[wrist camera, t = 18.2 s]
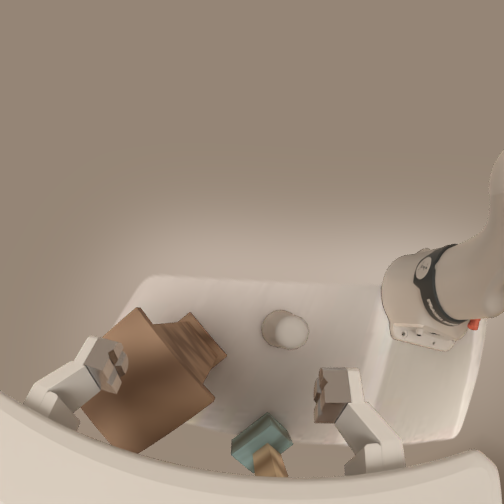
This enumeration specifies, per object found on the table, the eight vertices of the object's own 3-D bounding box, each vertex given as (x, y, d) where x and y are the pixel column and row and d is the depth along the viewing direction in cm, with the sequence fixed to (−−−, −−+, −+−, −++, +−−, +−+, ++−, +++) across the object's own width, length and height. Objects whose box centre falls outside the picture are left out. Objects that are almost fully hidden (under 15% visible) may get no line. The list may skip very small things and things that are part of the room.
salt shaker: (264, 307, 46) (273, 304, 34) (298, 313, 46) (320, 311, 34) (257, 343, 45) (265, 353, 32) (292, 348, 45) (312, 359, 32)
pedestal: (227, 355, 44) (214, 400, 19) (181, 391, 43) (126, 460, 17) (190, 312, 46) (136, 307, 20) (146, 349, 44) (58, 376, 18)
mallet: (309, 478, 25) (282, 457, 26) (258, 512, 24) (229, 492, 25) (286, 430, 42) (267, 412, 43) (251, 457, 40) (231, 439, 41)
